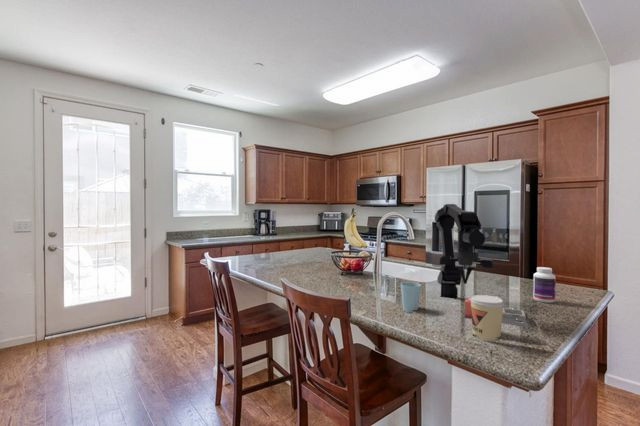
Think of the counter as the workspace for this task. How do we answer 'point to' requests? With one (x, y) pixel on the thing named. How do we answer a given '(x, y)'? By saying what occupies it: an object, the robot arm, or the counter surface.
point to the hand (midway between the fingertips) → (465, 283)
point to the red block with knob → (468, 307)
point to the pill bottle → (544, 285)
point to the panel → (510, 317)
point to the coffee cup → (486, 317)
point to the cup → (410, 296)
